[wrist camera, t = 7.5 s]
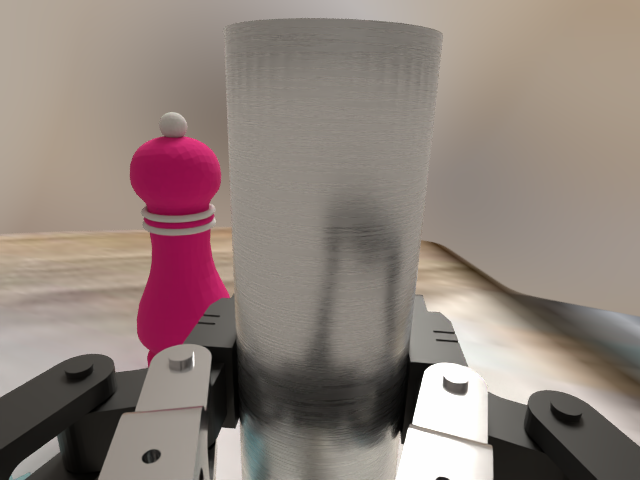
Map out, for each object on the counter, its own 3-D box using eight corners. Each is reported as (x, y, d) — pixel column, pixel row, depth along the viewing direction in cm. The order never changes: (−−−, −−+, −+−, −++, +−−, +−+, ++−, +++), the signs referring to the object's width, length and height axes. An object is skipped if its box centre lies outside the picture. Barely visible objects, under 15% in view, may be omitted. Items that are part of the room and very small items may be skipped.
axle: (313, 560, 17) (330, 49, 11) (400, 651, 14) (483, 39, 8) (224, 648, 14) (181, 30, 8) (310, 781, 11) (338, 8, 5)
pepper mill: (190, 335, 40) (174, 108, 34) (253, 360, 37) (249, 114, 30) (122, 377, 34) (87, 110, 28) (190, 411, 31) (169, 117, 24)
